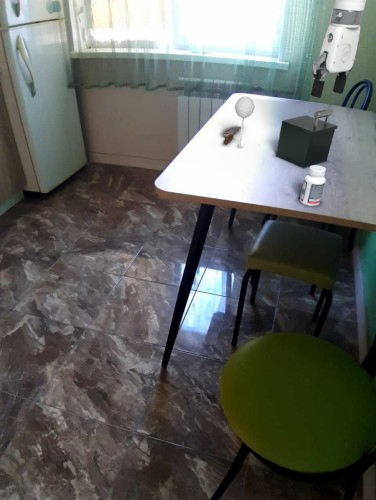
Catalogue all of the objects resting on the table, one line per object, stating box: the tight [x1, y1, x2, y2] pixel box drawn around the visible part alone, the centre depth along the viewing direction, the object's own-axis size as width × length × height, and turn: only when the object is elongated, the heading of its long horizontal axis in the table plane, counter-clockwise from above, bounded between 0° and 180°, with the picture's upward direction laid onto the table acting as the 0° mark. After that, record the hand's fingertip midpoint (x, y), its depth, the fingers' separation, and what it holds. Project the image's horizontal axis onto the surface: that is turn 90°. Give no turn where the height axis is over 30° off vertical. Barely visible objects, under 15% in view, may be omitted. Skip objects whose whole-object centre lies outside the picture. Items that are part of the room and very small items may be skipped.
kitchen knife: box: [222, 126, 241, 145], centre depth 144 cm, size 21×2×5 cm
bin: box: [275, 123, 336, 169], centre depth 127 cm, size 12×11×10 cm
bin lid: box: [281, 107, 339, 135], centre depth 122 cm, size 12×11×5 cm
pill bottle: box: [299, 164, 327, 207], centre depth 105 cm, size 5×5×9 cm
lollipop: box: [234, 96, 255, 148], centre depth 131 cm, size 6×6×15 cm
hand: (326, 94), depth 116 cm, fingers open, 9 cm apart
